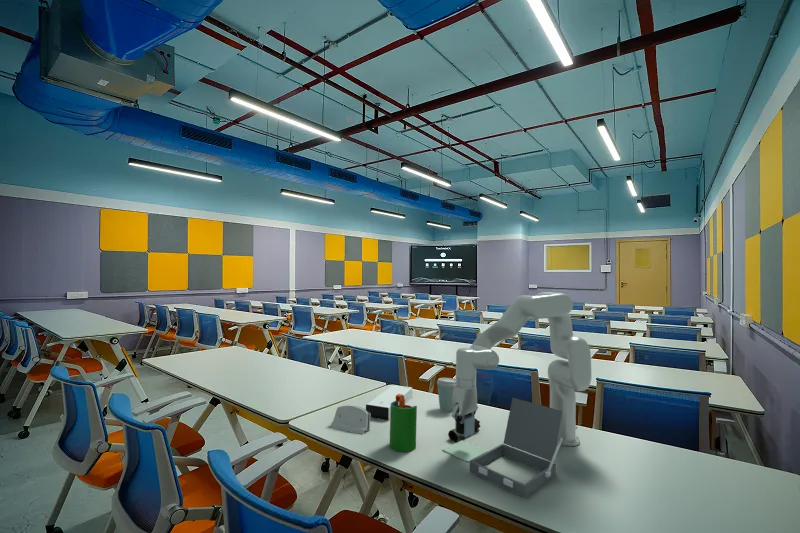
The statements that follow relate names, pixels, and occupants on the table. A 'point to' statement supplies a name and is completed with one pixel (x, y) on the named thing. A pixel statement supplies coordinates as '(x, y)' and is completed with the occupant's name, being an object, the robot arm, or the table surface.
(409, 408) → the motor
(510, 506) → the table surface
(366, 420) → the hinge
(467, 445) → the mat
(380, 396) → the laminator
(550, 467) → the case
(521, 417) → the lid
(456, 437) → the brown rough-headed cylinder
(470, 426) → the module
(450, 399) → the disposable coffee cup
